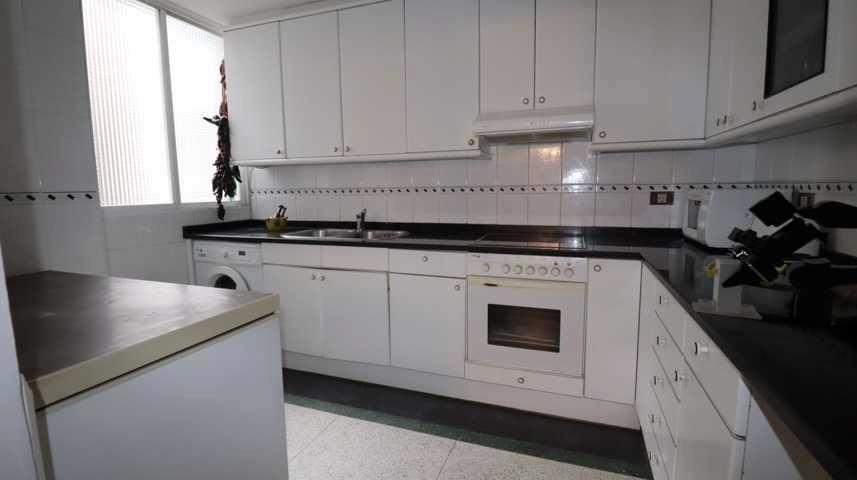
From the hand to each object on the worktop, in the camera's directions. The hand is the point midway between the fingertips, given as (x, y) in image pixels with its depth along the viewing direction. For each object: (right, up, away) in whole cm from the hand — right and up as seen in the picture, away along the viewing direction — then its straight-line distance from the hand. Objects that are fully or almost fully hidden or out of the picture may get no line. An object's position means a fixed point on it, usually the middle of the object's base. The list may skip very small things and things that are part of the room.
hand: (720, 283), depth 99 cm
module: (+1, -7, 0) cm, 7 cm away
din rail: (+1, -7, 0) cm, 7 cm away
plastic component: (+29, -3, +30) cm, 42 cm away
